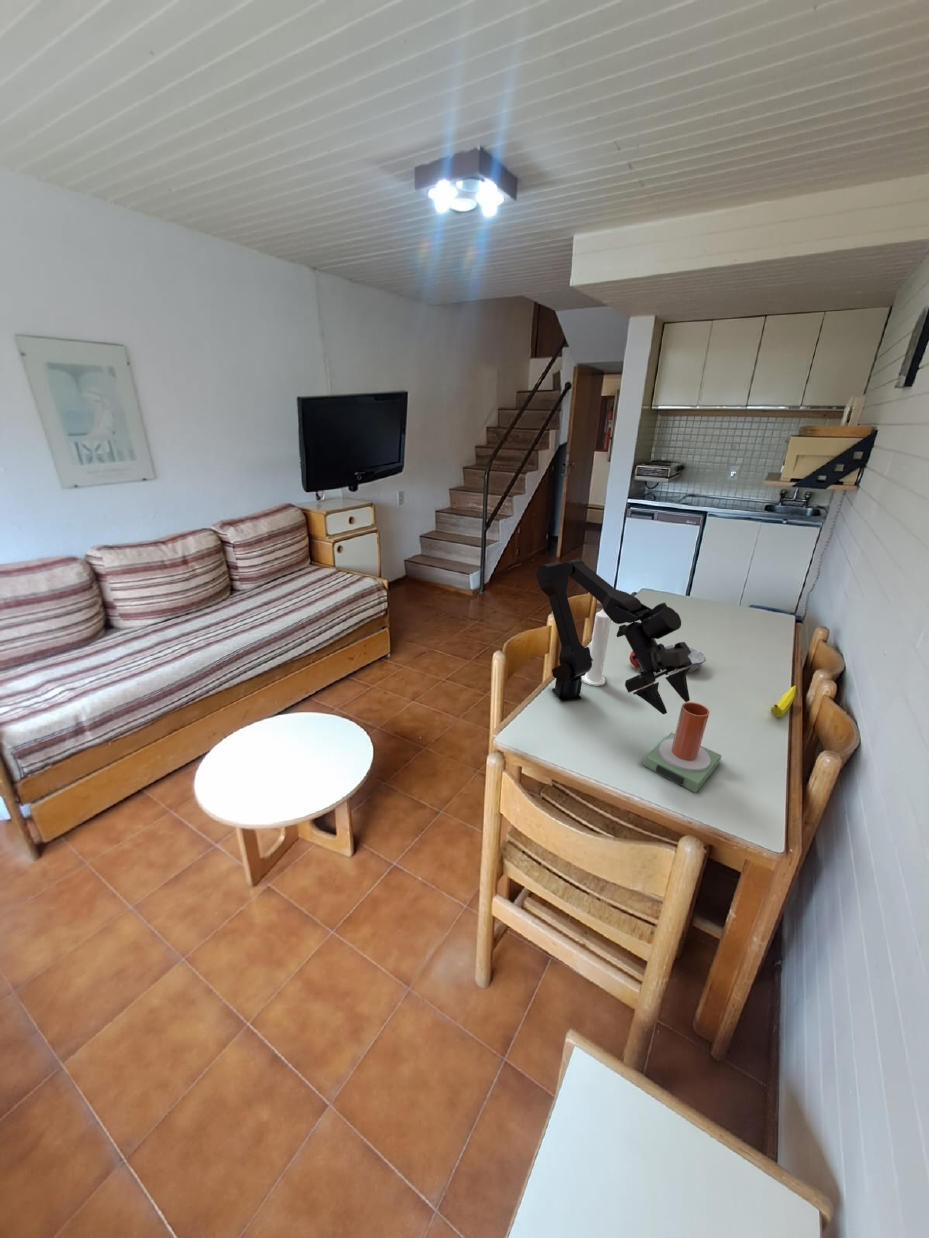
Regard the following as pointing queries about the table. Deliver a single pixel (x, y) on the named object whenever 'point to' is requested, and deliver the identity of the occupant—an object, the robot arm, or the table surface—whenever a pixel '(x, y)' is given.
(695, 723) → the tumbler
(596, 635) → the candle
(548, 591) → the robot arm
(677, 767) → the scale
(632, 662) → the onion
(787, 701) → the banana
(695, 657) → the bowl
